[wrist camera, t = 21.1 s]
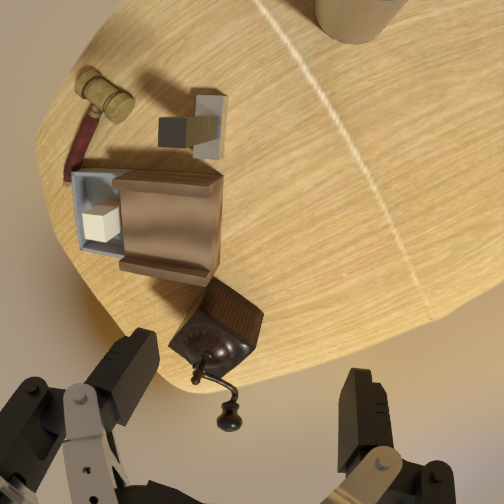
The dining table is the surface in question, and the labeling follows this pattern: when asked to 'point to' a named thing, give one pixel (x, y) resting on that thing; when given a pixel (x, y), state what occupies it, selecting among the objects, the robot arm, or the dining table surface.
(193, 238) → the slot block
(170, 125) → the grey upright post
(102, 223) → the off-white cube
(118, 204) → the terracotta cube
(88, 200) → the tray
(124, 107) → the gavel
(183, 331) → the antique coffee grinder
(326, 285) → the dining table surface
